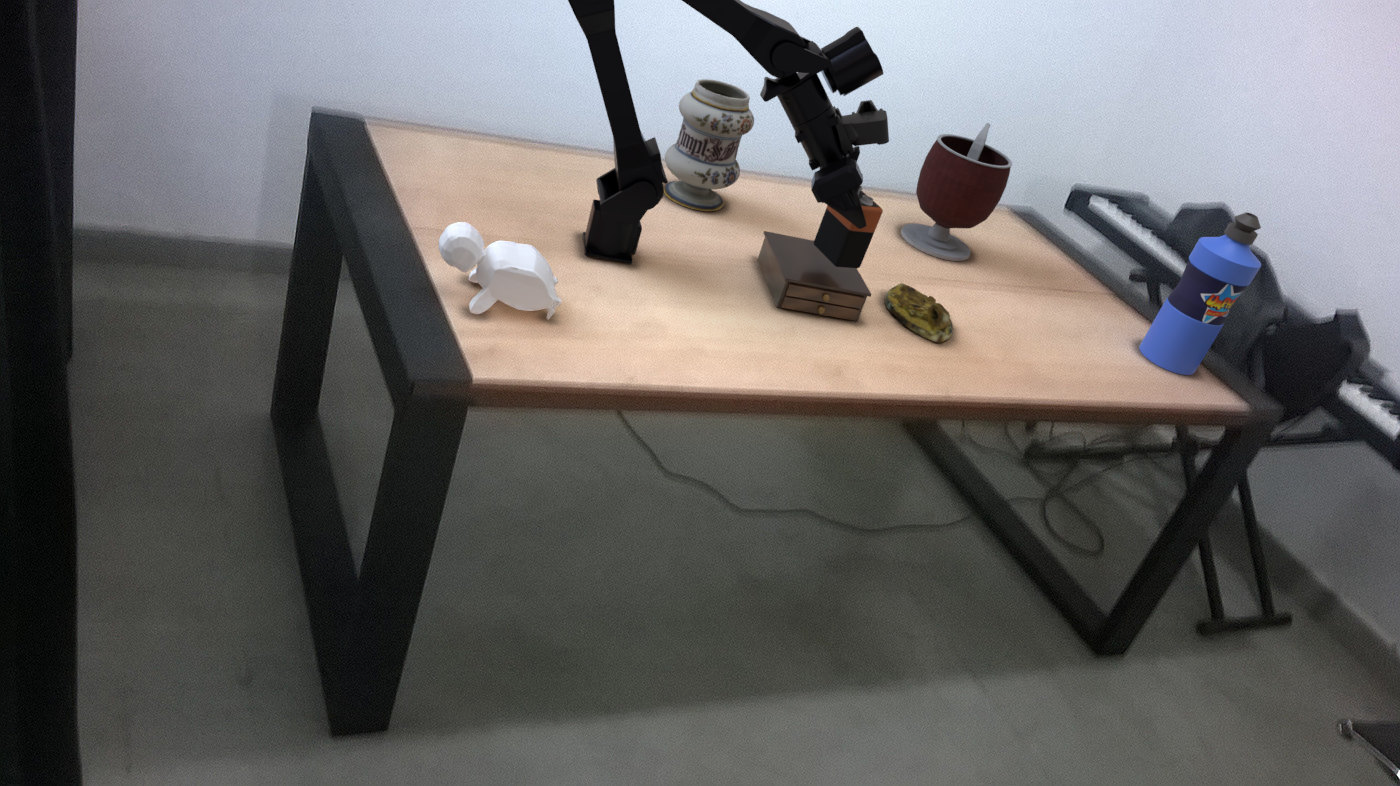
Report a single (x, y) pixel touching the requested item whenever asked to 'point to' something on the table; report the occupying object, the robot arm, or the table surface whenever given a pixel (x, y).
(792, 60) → the robot arm
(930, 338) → the olive oval relief
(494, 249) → the white turtle figurine
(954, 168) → the mate gourd
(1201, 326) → the water bottle
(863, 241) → the battery
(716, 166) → the apothecary jar
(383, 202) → the table surface
